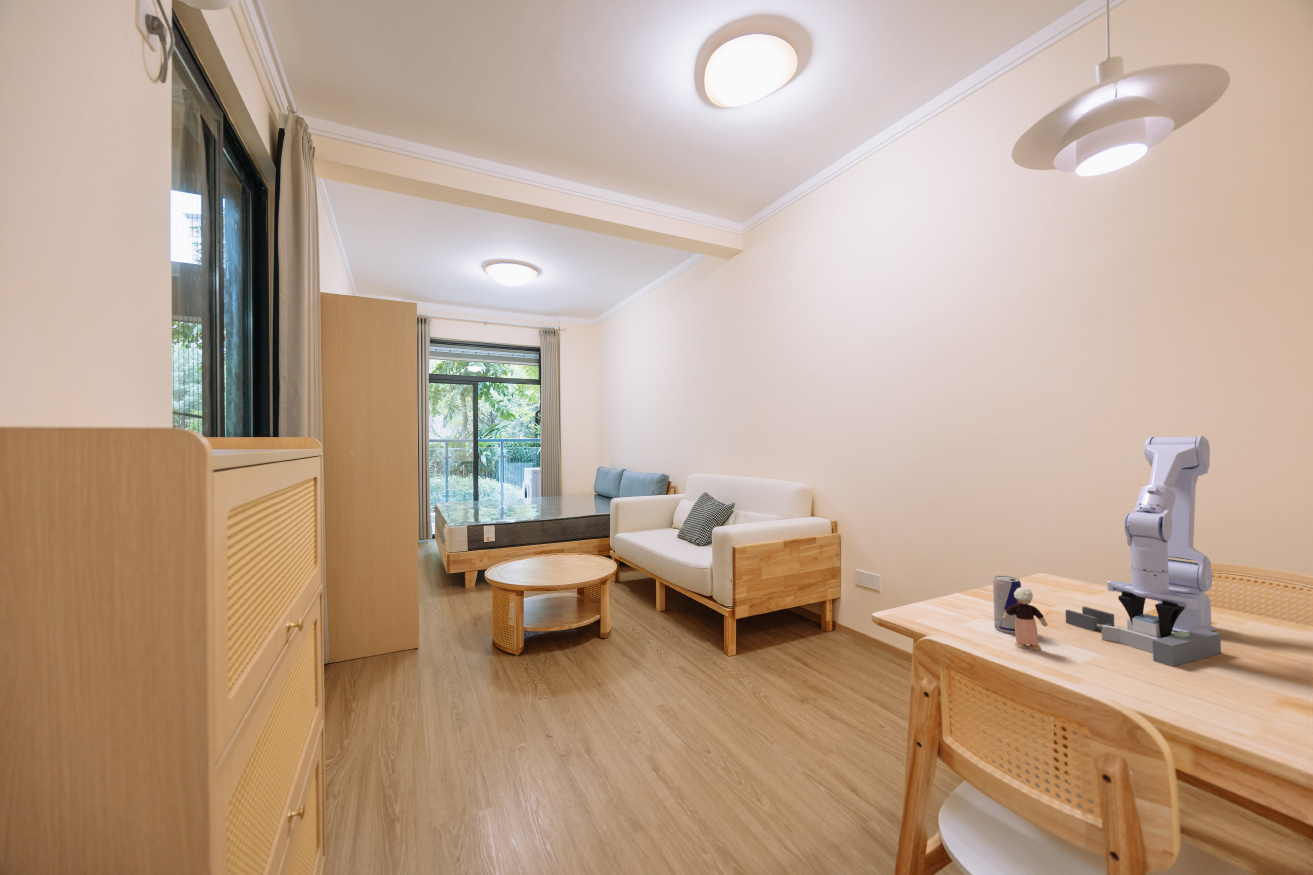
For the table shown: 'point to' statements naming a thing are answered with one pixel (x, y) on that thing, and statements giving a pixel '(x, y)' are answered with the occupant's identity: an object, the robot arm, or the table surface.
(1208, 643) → the grey forked block
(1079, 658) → the table surface
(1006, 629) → the energy drink
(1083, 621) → the gray vise
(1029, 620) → the grandmother figurine
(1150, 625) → the plug
